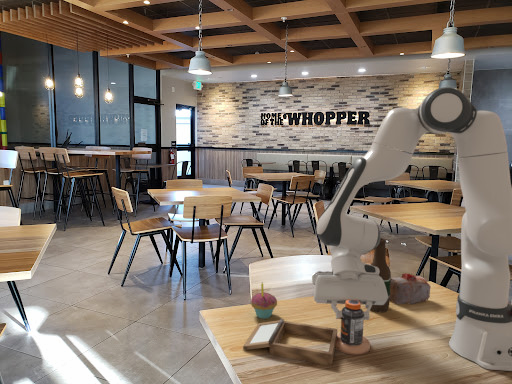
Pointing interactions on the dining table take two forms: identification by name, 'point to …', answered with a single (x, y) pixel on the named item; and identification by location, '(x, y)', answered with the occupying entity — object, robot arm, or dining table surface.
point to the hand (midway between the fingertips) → (353, 318)
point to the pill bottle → (352, 323)
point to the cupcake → (263, 304)
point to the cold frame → (302, 352)
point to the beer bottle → (382, 273)
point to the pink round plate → (352, 349)
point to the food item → (409, 289)
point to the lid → (260, 335)
